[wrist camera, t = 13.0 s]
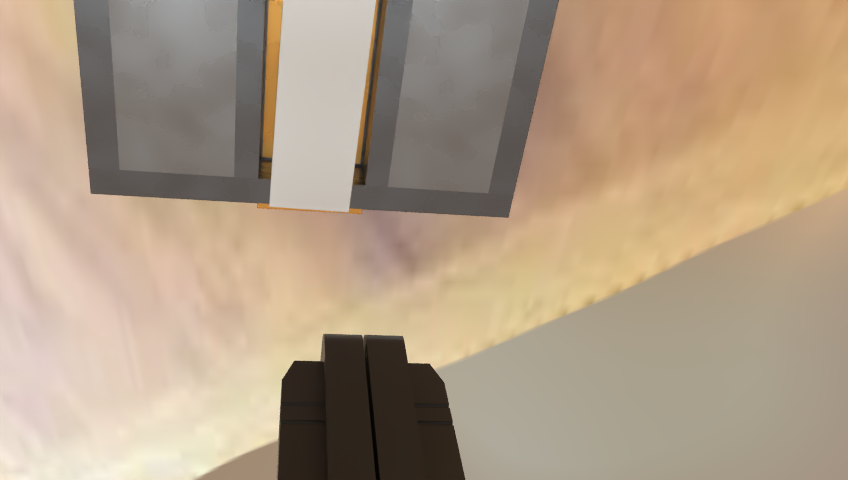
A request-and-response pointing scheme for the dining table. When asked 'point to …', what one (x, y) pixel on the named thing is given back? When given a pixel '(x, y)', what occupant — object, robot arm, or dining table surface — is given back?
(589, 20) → the dining table surface
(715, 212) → the dining table surface
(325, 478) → the robot arm
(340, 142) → the white rectangular block
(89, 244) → the dining table surface
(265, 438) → the dining table surface
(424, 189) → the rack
